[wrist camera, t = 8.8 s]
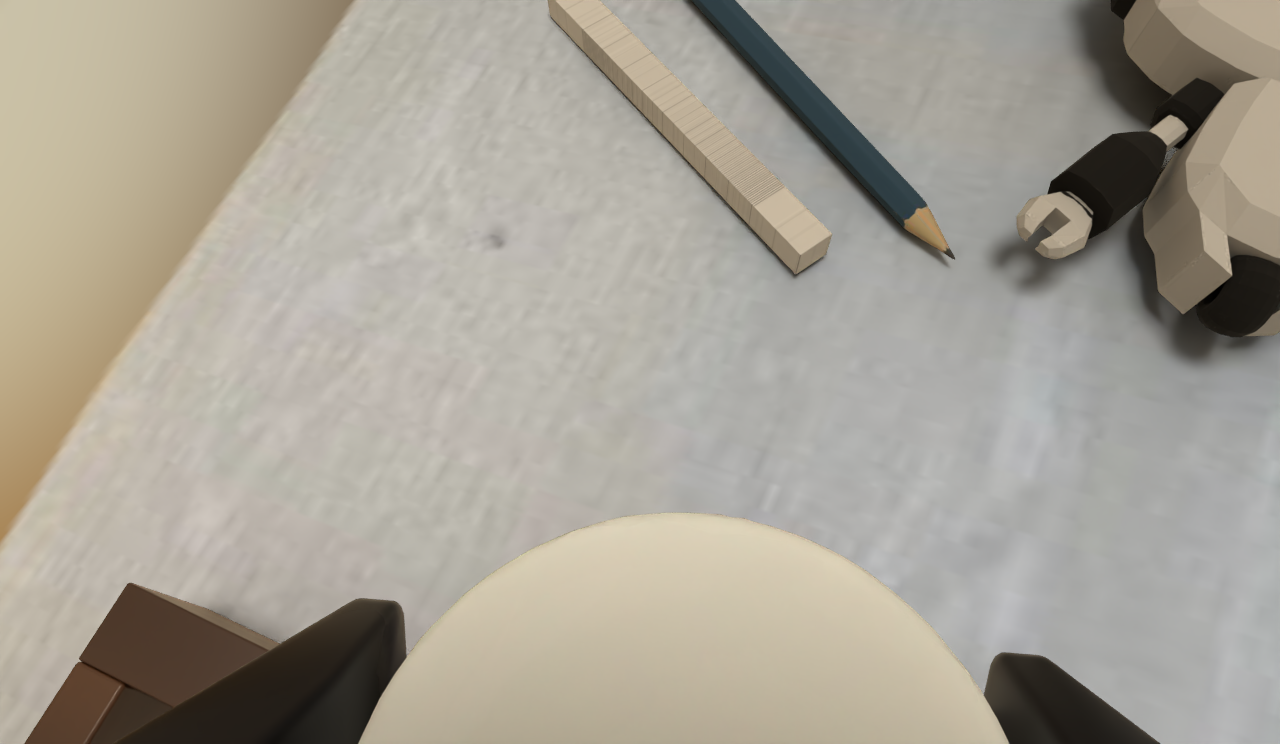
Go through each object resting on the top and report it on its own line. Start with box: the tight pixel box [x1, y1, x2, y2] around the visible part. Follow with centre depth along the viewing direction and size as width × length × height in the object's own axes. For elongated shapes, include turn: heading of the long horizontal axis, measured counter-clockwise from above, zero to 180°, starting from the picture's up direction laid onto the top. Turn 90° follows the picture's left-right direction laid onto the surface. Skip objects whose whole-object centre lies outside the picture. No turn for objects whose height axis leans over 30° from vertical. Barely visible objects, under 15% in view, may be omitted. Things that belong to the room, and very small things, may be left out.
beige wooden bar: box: [548, 0, 832, 274], centre depth 27 cm, size 12×1×1 cm, turn 36°
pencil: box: [692, 0, 955, 259], centre depth 27 cm, size 1×1×15 cm
